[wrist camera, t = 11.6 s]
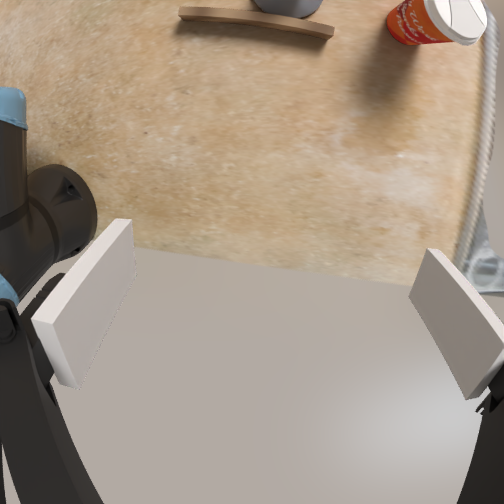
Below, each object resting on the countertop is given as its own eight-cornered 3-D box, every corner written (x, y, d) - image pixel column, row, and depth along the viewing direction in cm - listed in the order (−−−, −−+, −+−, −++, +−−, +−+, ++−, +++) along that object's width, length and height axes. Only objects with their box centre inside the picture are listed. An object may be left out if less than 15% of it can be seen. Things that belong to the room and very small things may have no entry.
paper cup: (370, 4, 28) (417, -28, 16) (418, 0, 27) (474, -23, 15) (390, 56, 32) (446, 46, 19) (436, 50, 30) (499, 44, 18)
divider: (183, 20, 30) (178, 15, 28) (185, 12, 30) (179, 6, 27) (327, 39, 31) (333, 35, 29) (329, 31, 31) (334, 27, 28)
